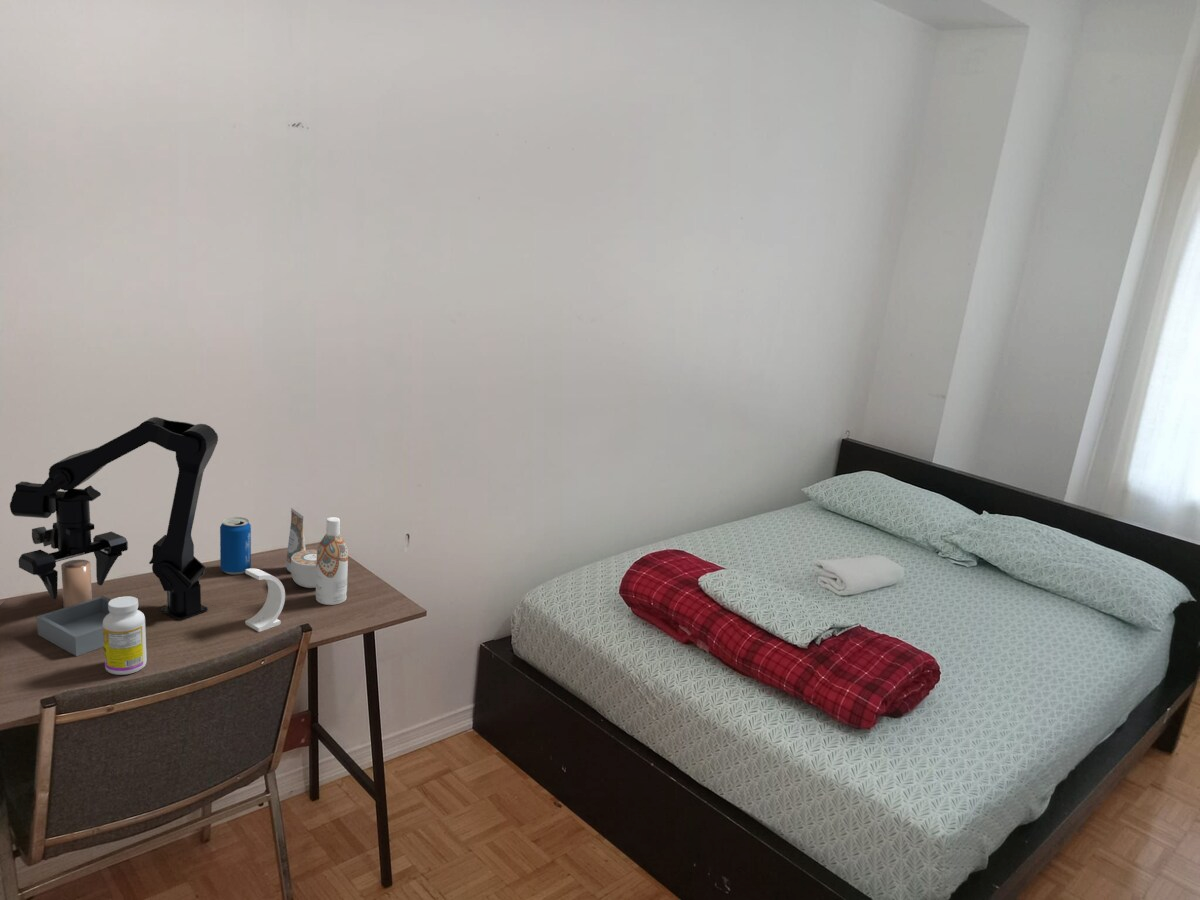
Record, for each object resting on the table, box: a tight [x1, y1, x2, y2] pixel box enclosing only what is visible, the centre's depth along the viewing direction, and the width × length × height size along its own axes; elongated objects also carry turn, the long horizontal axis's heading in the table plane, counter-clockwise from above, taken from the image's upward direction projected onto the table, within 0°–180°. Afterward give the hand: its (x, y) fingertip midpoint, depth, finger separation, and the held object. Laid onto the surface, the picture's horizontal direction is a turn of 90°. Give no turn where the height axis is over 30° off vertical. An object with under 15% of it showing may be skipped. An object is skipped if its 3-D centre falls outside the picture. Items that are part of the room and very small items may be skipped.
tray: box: [36, 595, 112, 657], centre depth 167 cm, size 13×13×4 cm
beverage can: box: [219, 516, 252, 576], centre depth 200 cm, size 6×6×12 cm
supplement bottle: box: [103, 595, 148, 676], centre depth 156 cm, size 7×7×13 cm
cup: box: [60, 559, 93, 608], centre depth 177 cm, size 5×5×9 cm
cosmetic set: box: [285, 507, 349, 606], centre depth 197 cm, size 25×9×19 cm, turn 42°
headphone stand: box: [244, 568, 286, 633], centre depth 177 cm, size 5×6×12 cm
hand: (77, 591), depth 177 cm, fingers open, 9 cm apart
